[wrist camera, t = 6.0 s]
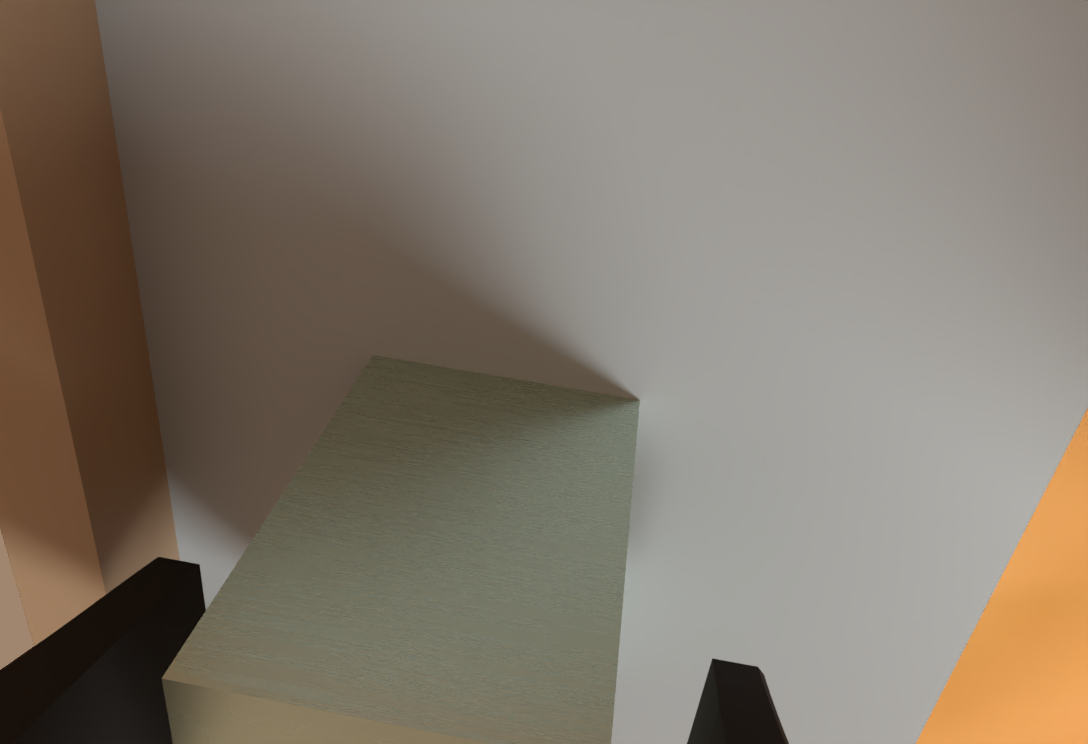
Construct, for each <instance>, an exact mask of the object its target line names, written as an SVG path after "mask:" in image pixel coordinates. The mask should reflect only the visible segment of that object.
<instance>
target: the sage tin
mask: <svg viewBox="0 0 1088 744" xmlns="http://www.w3.org/2000/svg"><path fill="white" fill-rule="evenodd" d="M639 405H640V400H636V399H631V398H625V397H619V396H613V395H607V394H601V393H595V392H589V391H583V390H577V389H571V388H565V387H560V386H554V385H548V384H542V383H536V382H530V381H524V380H518V379H512V378H506V377H500V376H494V375H489V374H483V373H477V372H471V371H465V370H459V369H453V368H447V367H441V366H435V365H429V364H423V363H418V362H412V361H406V360H400V359H394V358H388V357H382V356H376V355H373V356H372V357H371V359H370V360H369V362H368V364H367V365H366V367H365V368H364V370H363V371H362V373H361V374H360V376H359V377H358V379H357V380H356V382H355V383H354V385H353V386H352V388H351V390H350V391H349V393H348V394H347V396H346V397H345V399H344V400H343V402H342V403H341V405H340V406H339V408H338V409H337V411H336V412H335V414H334V416H333V417H332V419H331V420H330V422H329V423H328V425H327V426H326V428H325V429H324V431H323V432H322V434H321V435H320V437H319V438H318V440H317V442H316V443H315V445H314V446H313V448H312V449H311V451H310V452H309V454H308V455H307V457H306V458H305V460H304V461H303V463H302V464H301V466H300V468H299V469H298V471H297V472H296V474H295V475H294V477H293V478H292V480H291V481H290V483H289V484H288V486H287V487H286V489H285V490H284V492H283V494H282V495H281V497H280V498H279V500H278V501H277V503H276V504H275V506H274V507H273V509H272V510H271V512H270V513H269V515H268V516H267V518H266V520H265V521H264V523H263V524H262V526H261V527H260V529H259V530H258V532H257V533H256V535H255V536H254V538H253V539H252V541H251V542H250V544H249V546H248V547H247V549H246V550H245V552H244V553H243V555H242V556H241V558H240V559H239V561H238V562H237V564H236V565H235V567H234V568H233V570H232V572H231V573H230V575H229V576H228V578H227V579H226V581H225V582H224V584H223V585H222V587H221V588H220V590H219V591H218V593H217V594H216V596H215V598H214V599H213V601H212V602H211V604H210V605H209V607H208V608H207V610H206V611H205V613H204V614H203V616H202V617H201V619H200V620H199V622H198V624H197V625H196V627H195V628H194V630H193V631H192V633H191V634H190V636H189V637H188V639H187V640H186V642H185V643H184V645H183V646H182V648H181V650H180V651H179V653H178V654H177V656H176V657H175V659H174V660H173V662H172V663H171V665H170V666H169V668H168V669H167V671H166V672H165V674H164V675H163V677H162V684H163V690H164V695H165V701H166V707H167V712H168V718H169V724H170V729H171V735H172V741H173V744H611V739H612V727H613V715H614V704H615V692H616V680H617V668H618V656H619V644H620V632H621V620H622V608H623V596H624V584H625V572H626V560H627V548H628V536H629V525H630V513H631V501H632V489H633V477H634V465H635V453H636V441H637V429H638V417H639Z"/></svg>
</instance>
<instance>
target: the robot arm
mask: <svg viewBox="0 0 1088 744" xmlns="http://www.w3.org/2000/svg"><path fill="white" fill-rule="evenodd" d="M205 611H206V608H205V601H204V593H203V586H202V579H201V571H200V564H195V563H190V562H185V561H179V560H174V559H168V558H163V557H157V558H156V559H154V560H153V561H151V562H150V563H149V564H147V565H146V566H144V567H143V568H142V569H140V570H139V571H137V572H136V573H135V574H133V575H132V576H130V577H129V578H128V579H126V580H125V581H124V582H122V583H121V584H119V585H118V586H117V587H115V588H114V589H113V590H111V591H110V592H109V593H107V594H106V595H104V596H103V597H102V598H100V599H99V600H98V601H96V602H95V603H94V604H92V605H91V606H90V607H88V608H87V609H85V610H84V611H83V612H81V613H80V614H79V615H77V616H76V617H74V618H73V619H72V620H70V621H69V622H68V623H66V624H65V625H63V626H62V627H61V628H59V629H58V630H57V631H55V632H54V633H52V634H51V635H49V636H48V637H47V638H45V639H44V640H42V641H41V642H39V643H38V644H37V645H35V646H34V647H32V648H31V649H30V650H28V651H27V652H25V653H24V654H23V655H21V656H20V657H18V658H17V659H15V660H14V661H13V662H11V663H10V664H8V665H7V666H5V667H4V668H2V669H1V670H0V744H173V741H172V735H171V729H170V724H169V718H168V712H167V707H166V701H165V695H164V690H163V684H162V677H163V675H164V674H165V672H166V671H167V669H168V668H169V666H170V665H171V663H172V662H173V660H174V659H175V657H176V656H177V654H178V653H179V651H180V650H181V648H182V646H183V645H184V643H185V642H186V640H187V639H188V637H189V636H190V634H191V633H192V631H193V630H194V628H195V627H196V625H197V624H198V622H199V620H200V619H201V617H202V616H203V614H204V613H205ZM687 744H789V742H788V740H787V737H786V735H785V732H784V730H783V727H782V724H781V722H780V719H779V716H778V714H777V711H776V708H775V706H774V703H773V700H772V697H771V694H770V691H769V688H768V685H767V682H766V679H765V676H764V674H763V673H762V671H761V670H760V669H759V667H757V666H751V665H746V664H740V663H735V662H729V661H724V660H719V659H713V658H712V661H711V665H710V668H709V671H708V675H707V678H706V681H705V685H704V688H703V691H702V695H701V698H700V701H699V705H698V708H697V712H696V715H695V718H694V722H693V725H692V728H691V732H690V735H689V738H688V742H687Z"/></svg>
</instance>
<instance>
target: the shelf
mask: <svg viewBox="0 0 1088 744" xmlns="http://www.w3.org/2000/svg"><path fill="white" fill-rule="evenodd" d="M373 355H376V356H382V357H388V358H394V359H400V360H406V361H412V362H418V363H423V364H429V365H435V366H441V367H447V368H453V369H459V370H465V371H471V372H477V373H483V374H489V375H494V376H500V377H506V378H512V379H518V380H524V381H530V382H536V383H542V384H548V385H554V386H560V387H565V388H571V389H577V390H583V391H589V392H595V393H601V394H607V395H613V396H619V397H625V398H631V399H636V400H640V405H639V417H638V429H637V441H636V453H635V465H634V477H633V489H632V501H631V513H630V525H629V536H628V548H627V560H626V572H625V584H624V596H623V608H622V620H621V632H620V644H619V656H618V668H617V680H616V692H615V704H614V715H613V727H612V739H611V744H687V742H688V738H689V735H690V732H691V728H692V725H693V722H694V718H695V715H696V712H697V708H698V705H699V701H700V698H701V695H702V691H703V688H704V685H705V681H706V678H707V675H708V671H709V668H710V665H711V661H712V658H713V659H719V660H724V661H729V662H735V663H740V664H746V665H751V666H757V667H759V669H760V670H761V671H762V673H763V674H764V676H765V679H766V682H767V685H768V688H769V691H770V694H771V697H772V700H773V703H774V706H775V708H776V711H777V714H778V716H779V719H780V722H781V724H782V727H783V730H784V732H785V735H786V737H787V740H788V742H789V744H916V742H917V740H918V738H919V736H920V734H921V732H922V730H923V728H924V726H925V724H926V722H927V720H928V718H929V716H930V714H931V712H932V711H933V709H934V707H935V705H936V703H937V701H938V699H939V697H940V695H941V693H942V691H943V689H944V687H945V685H946V683H947V681H948V679H949V677H950V675H951V673H952V671H953V670H954V668H955V666H956V664H957V662H958V660H959V658H960V656H961V654H962V652H963V650H964V648H965V646H966V644H967V642H968V640H969V638H970V636H971V634H972V632H973V630H974V629H975V627H976V625H977V623H978V621H979V619H980V617H981V615H982V613H983V611H984V609H985V607H986V605H987V603H988V601H989V599H990V597H991V595H992V593H993V591H994V589H995V588H996V586H997V584H998V582H999V580H1000V578H1001V576H1002V574H1003V572H1004V570H1005V568H1006V566H1007V564H1008V562H1009V560H1010V558H1011V556H1012V554H1013V552H1014V550H1015V548H1016V547H1017V545H1018V543H1019V541H1020V539H1021V537H1022V535H1023V533H1024V531H1025V529H1026V527H1027V525H1028V523H1029V521H1030V519H1031V517H1032V515H1033V513H1034V511H1035V509H1036V507H1037V506H1038V504H1039V502H1040V500H1041V498H1042V496H1043V494H1044V492H1045V490H1046V488H1047V486H1048V484H1049V482H1050V480H1051V478H1052V476H1053V474H1054V472H1055V470H1056V468H1057V467H1058V465H1059V463H1060V461H1061V459H1062V457H1063V455H1064V453H1065V451H1066V449H1067V447H1068V445H1069V443H1070V441H1071V439H1072V437H1073V435H1074V433H1075V431H1076V429H1077V427H1078V426H1079V424H1080V422H1081V420H1082V418H1083V416H1084V414H1085V412H1086V410H1087V408H1088V0H0V529H1V532H2V536H3V539H4V543H5V546H6V550H7V553H8V557H9V560H10V563H11V567H12V570H13V574H14V577H15V581H16V584H17V588H18V591H19V595H20V598H21V602H22V605H23V609H24V612H25V616H26V619H27V623H28V626H29V630H30V633H31V636H32V639H33V643H34V646H35V645H37V644H38V643H39V642H41V641H42V640H44V639H45V638H47V637H48V636H49V635H51V634H52V633H54V632H55V631H57V630H58V629H59V628H61V627H62V626H63V625H65V624H66V623H68V622H69V621H70V620H72V619H73V618H74V617H76V616H77V615H79V614H80V613H81V612H83V611H84V610H85V609H87V608H88V607H90V606H91V605H92V604H94V603H95V602H96V601H98V600H99V599H100V598H102V597H103V596H104V595H106V594H107V593H109V592H110V591H111V590H113V589H114V588H115V587H117V586H118V585H119V584H121V583H122V582H124V581H125V580H126V579H128V578H129V577H130V576H132V575H133V574H135V573H136V572H137V571H139V570H140V569H142V568H143V567H144V566H146V565H147V564H149V563H150V562H151V561H153V560H154V559H156V558H157V557H163V558H168V559H174V560H179V561H185V562H190V563H195V564H200V571H201V579H202V586H203V593H204V601H205V608H206V610H207V608H208V607H209V605H210V604H211V602H212V601H213V599H214V598H215V596H216V594H217V593H218V591H219V590H220V588H221V587H222V585H223V584H224V582H225V581H226V579H227V578H228V576H229V575H230V573H231V572H232V570H233V568H234V567H235V565H236V564H237V562H238V561H239V559H240V558H241V556H242V555H243V553H244V552H245V550H246V549H247V547H248V546H249V544H250V542H251V541H252V539H253V538H254V536H255V535H256V533H257V532H258V530H259V529H260V527H261V526H262V524H263V523H264V521H265V520H266V518H267V516H268V515H269V513H270V512H271V510H272V509H273V507H274V506H275V504H276V503H277V501H278V500H279V498H280V497H281V495H282V494H283V492H284V490H285V489H286V487H287V486H288V484H289V483H290V481H291V480H292V478H293V477H294V475H295V474H296V472H297V471H298V469H299V468H300V466H301V464H302V463H303V461H304V460H305V458H306V457H307V455H308V454H309V452H310V451H311V449H312V448H313V446H314V445H315V443H316V442H317V440H318V438H319V437H320V435H321V434H322V432H323V431H324V429H325V428H326V426H327V425H328V423H329V422H330V420H331V419H332V417H333V416H334V414H335V412H336V411H337V409H338V408H339V406H340V405H341V403H342V402H343V400H344V399H345V397H346V396H347V394H348V393H349V391H350V390H351V388H352V386H353V385H354V383H355V382H356V380H357V379H358V377H359V376H360V374H361V373H362V371H363V370H364V368H365V367H366V365H367V364H368V362H369V360H370V359H371V357H372V356H373Z"/></svg>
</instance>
